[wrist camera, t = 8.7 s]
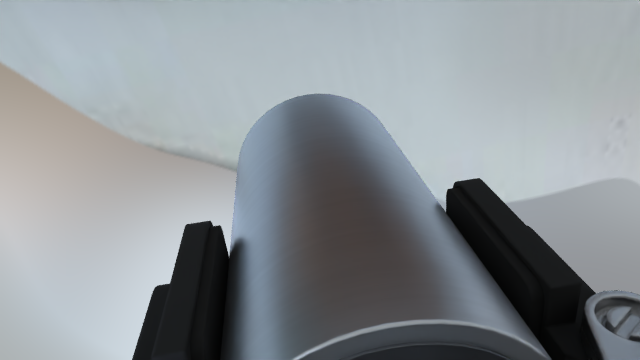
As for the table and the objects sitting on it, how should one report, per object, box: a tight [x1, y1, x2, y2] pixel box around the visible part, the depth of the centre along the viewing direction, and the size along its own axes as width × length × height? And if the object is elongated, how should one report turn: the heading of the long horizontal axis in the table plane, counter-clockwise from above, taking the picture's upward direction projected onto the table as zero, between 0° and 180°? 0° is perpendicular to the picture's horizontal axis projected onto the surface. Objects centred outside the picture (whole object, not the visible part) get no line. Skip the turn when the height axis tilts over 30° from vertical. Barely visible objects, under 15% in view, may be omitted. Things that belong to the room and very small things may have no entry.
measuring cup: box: [220, 94, 552, 360], centre depth 11 cm, size 6×5×10 cm
